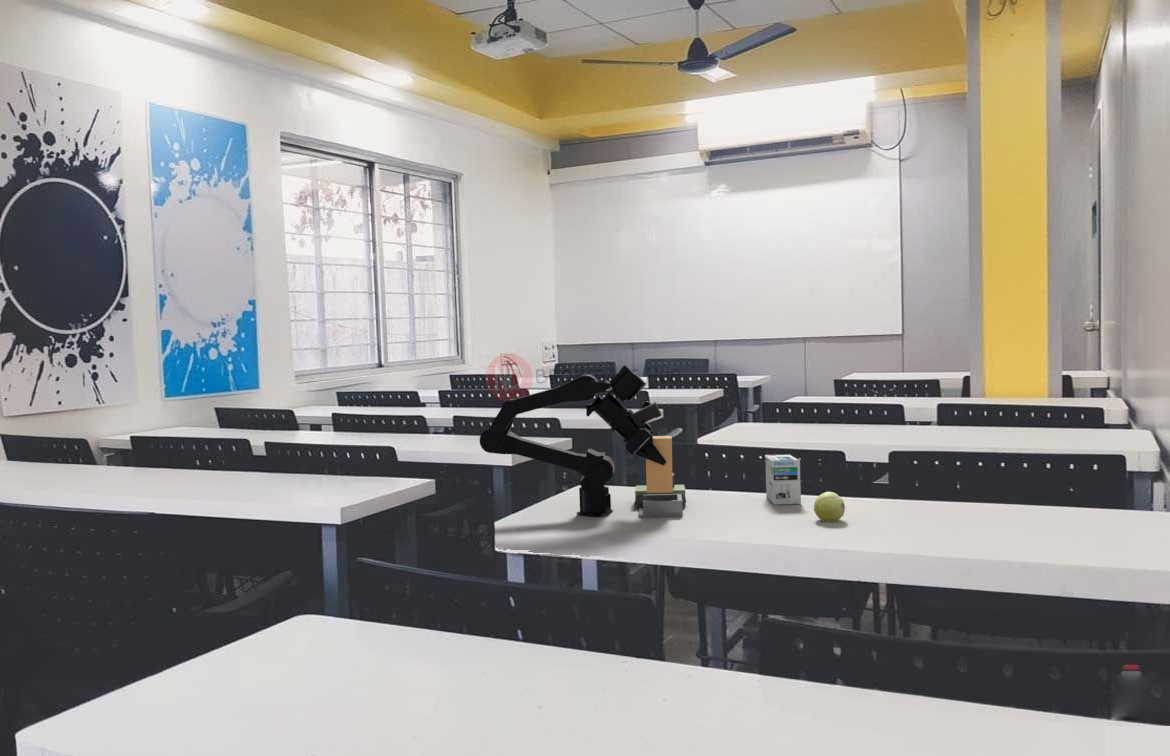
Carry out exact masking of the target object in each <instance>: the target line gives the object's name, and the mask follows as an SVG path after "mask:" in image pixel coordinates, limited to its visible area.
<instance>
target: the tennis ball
mask: <svg viewBox="0 0 1170 756" xmlns="http://www.w3.org/2000/svg"><path fill="white" fill-rule="evenodd" d="M814 501H815V502H814V504H813V512H814V513H815V515H816V517H817V518H818V519H820V520H821V521H822V522H824V523H836V522H839V520H840V519H841V518H843V517H844V514H845V510H846V506H845V502H844V499H843V498H842V497H841V496H839V495H838V493H835V492H832V491H825V492H823V493H821V494H820V495H818V497H816V499H815V500H814Z"/></svg>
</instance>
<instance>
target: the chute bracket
mask: <svg viewBox="0 0 1170 756" xmlns="http://www.w3.org/2000/svg"><path fill="white" fill-rule="evenodd" d="M683 508H684V507H683V505H682V496H681V494H647V495H643V507H639V508H638V509H639V510H638V511H639V512H638V518H674V517H675V518H677V517H684V514H683V513H684V510H683Z"/></svg>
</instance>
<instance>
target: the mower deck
mask: <svg viewBox="0 0 1170 756" xmlns="http://www.w3.org/2000/svg"><path fill="white" fill-rule="evenodd" d="M672 480H673V492H666V493H647V488H646V485H635V488H634V489H635V490H634V497H635V498H634V504H635V508H636V509H637V508H638V509H639V507H643V495H647V494H681V496H682V505H683V508H684V507H685V508H686V505H687V504H686V503H687V499H686V487H685V484H675V474H674V472H672Z"/></svg>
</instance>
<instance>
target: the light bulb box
mask: <svg viewBox="0 0 1170 756" xmlns="http://www.w3.org/2000/svg"><path fill="white" fill-rule="evenodd" d="M764 460H765V461H764V462H765V489H766V490H765V491H766V495H765V496H766V498H767V499H768V500H769V501H770V502H771V503H772V504H773V505H801V504H802V492H801V489H802V488H801V487H802V486H801V460H800V459H798V458H796V457H794V456H793V455H791V454H765V455H764Z"/></svg>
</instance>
